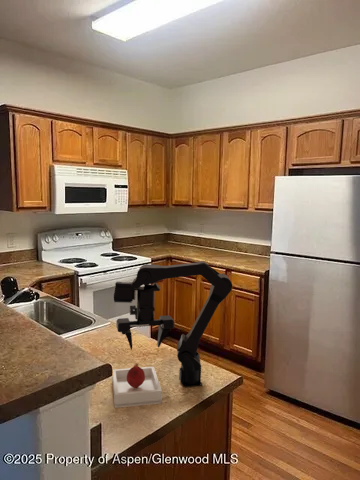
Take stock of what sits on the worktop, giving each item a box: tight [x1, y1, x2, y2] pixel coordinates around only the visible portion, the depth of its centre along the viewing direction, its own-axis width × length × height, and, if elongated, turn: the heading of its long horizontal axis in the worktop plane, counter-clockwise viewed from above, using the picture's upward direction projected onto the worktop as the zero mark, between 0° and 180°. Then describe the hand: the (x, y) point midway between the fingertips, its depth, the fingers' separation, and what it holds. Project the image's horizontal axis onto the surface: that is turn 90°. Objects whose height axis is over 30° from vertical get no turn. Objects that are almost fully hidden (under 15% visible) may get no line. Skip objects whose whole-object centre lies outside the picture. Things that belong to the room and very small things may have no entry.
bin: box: [111, 366, 163, 409], centre depth 116 cm, size 14×16×4 cm
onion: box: [127, 363, 145, 388], centre depth 116 cm, size 6×6×8 cm
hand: (144, 348), depth 122 cm, fingers open, 9 cm apart
